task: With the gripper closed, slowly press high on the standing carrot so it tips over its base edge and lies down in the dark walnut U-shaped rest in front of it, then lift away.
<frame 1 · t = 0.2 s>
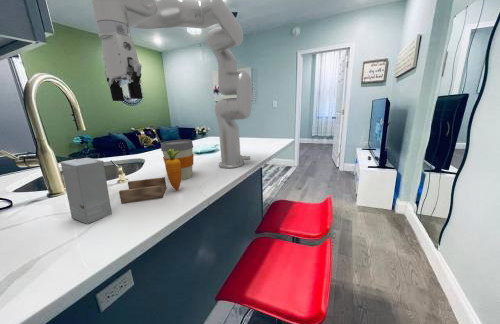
hand: (127, 99, 60), 31 cm above the worktop, tool pointing down, fingers open, 9 cm apart
reusable coffee cup: (181, 177, 88), on the worktop
skincare box: (94, 216, 57), on the worktop
carrot: (176, 191, 73), on the worktop
walnut U-rest: (145, 194, 70), on the worktop
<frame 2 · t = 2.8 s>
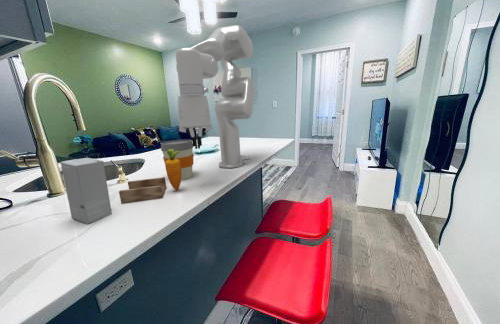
hand: (197, 148, 71), 14 cm above the worktop, tool pointing down, fingers closed
nothing on the worktop moved.
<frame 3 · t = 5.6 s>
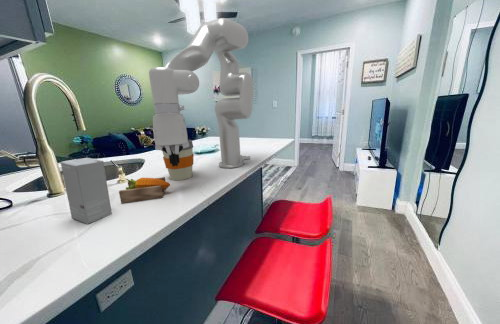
hand: (175, 165, 70), 9 cm above the worktop, tool pointing down, fingers closed
carrot: (170, 184, 69), point 3 cm above the worktop, touching walnut U-rest
everything else where it was.
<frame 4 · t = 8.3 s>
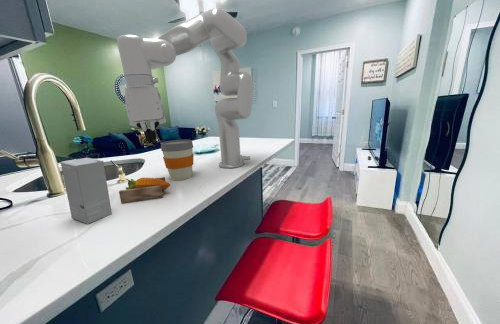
hand: (152, 142, 67), 17 cm above the worktop, tool pointing down, fingers closed
nothing on the worktop moved.
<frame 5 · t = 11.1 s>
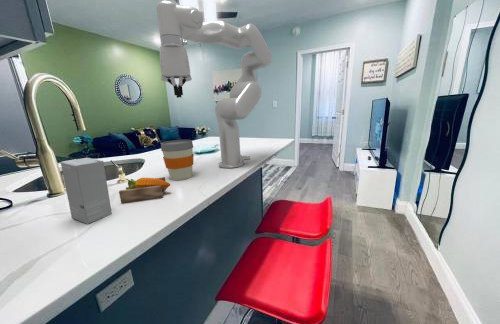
hand: (179, 97, 79), 32 cm above the worktop, tool pointing down, fingers closed
nothing on the worktop moved.
at the end: carrot tilted 89°; carrot touching walnut U-rest; carrot inside the target area on the walnut U-rest (6.5 cm from its centre), point 3.1 cm above the walnut U-rest's base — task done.
